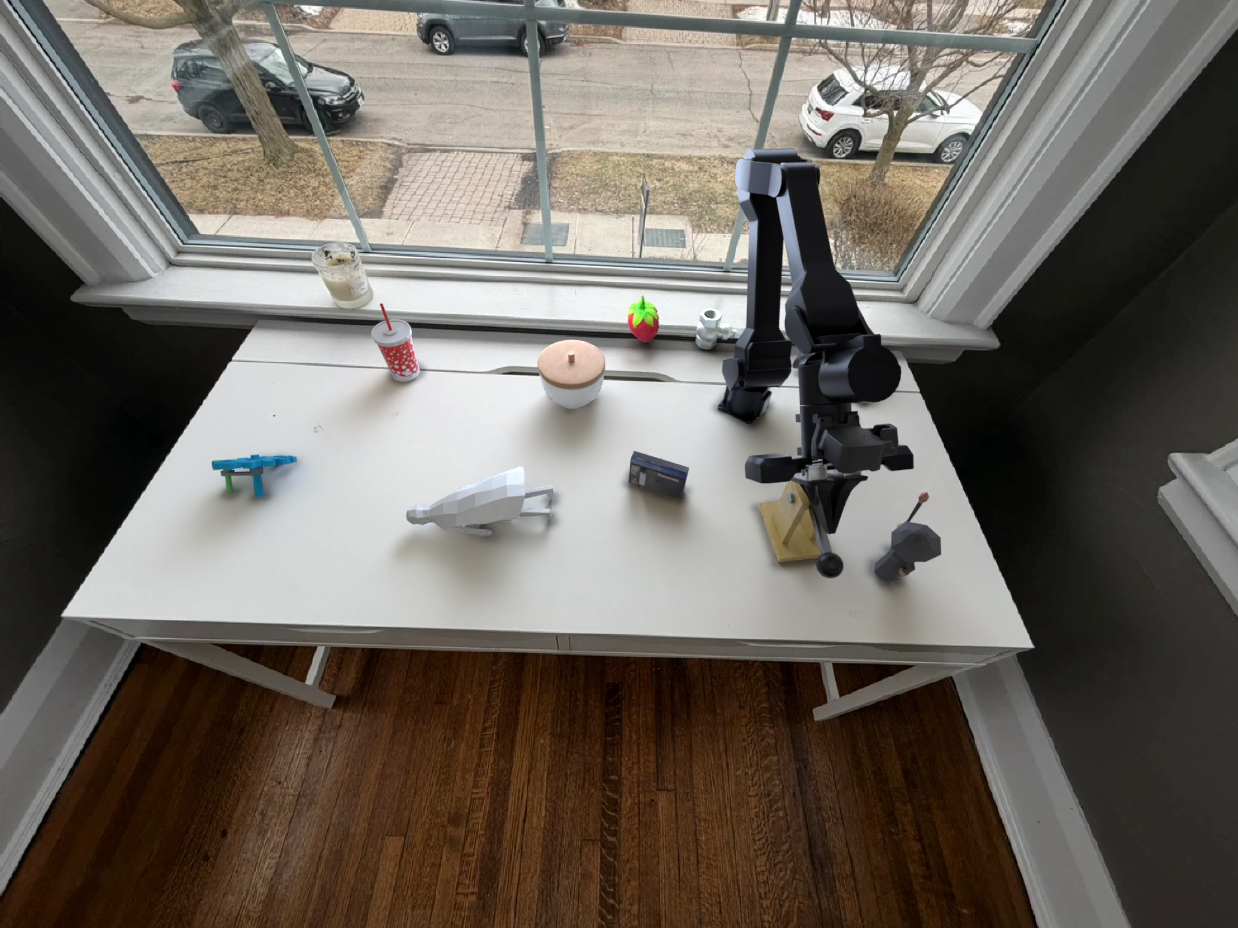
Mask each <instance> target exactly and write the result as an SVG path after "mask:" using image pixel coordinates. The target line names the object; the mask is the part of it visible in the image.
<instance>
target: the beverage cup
mask: <svg viewBox="0 0 1238 928" xmlns="http://www.w3.org/2000/svg"><path fill="white" fill-rule="evenodd" d="M379 307H380V309H381V312H382V315H383V317H384V320H383V321H380V322H379V323H377V324H376V325H374V326H373V328H372V329H371V332H370V336H371V339H372V340H373V342H374V344H376V345H377V347H378V349H379V351H380V353H381V355H382V358H383V360H384V361H385V364H386V366H387V367H388V370H389V371H390V374H391V376H392V377H393V379H394V380H395V381H397V382H401V383H405V382H410V381H414V380H415V379H416V378H418V376H419V375H420V373H421V368H420V366H419V360H418V357H417V352H416V349H415V345H414V341H413V337H412V331H413V330H412V326H411V325H410V324H409V322H407V321H405V320H404V319H398V318H393V319H392V318H391V319H389V317H388V314H387V311H386V308H385V306H384V304H383V303H379Z"/></svg>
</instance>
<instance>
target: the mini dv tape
mask: <svg viewBox="0 0 1238 928" xmlns="http://www.w3.org/2000/svg"><path fill="white" fill-rule="evenodd" d="M689 471H690V467H689V466H686V465H682V464H679V463H677V462H672V461H670V460H666V459H663V458H659V457H656V456H653V455H650V454H646V453H643V452H640V451H636V450H633V452H632V454H631V456H630V461H629V471H628V472H629V473H628V484H630V485H632V486H636V487H638V488H641V487H642V488H645V489H649V490H652V491H655V492H658V493H661V494H664V495H666V496H670V497H674V498H677V499H680V500H682V499H683V495H684V492H685V490H686V485H687V479H688V476H689Z"/></svg>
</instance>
